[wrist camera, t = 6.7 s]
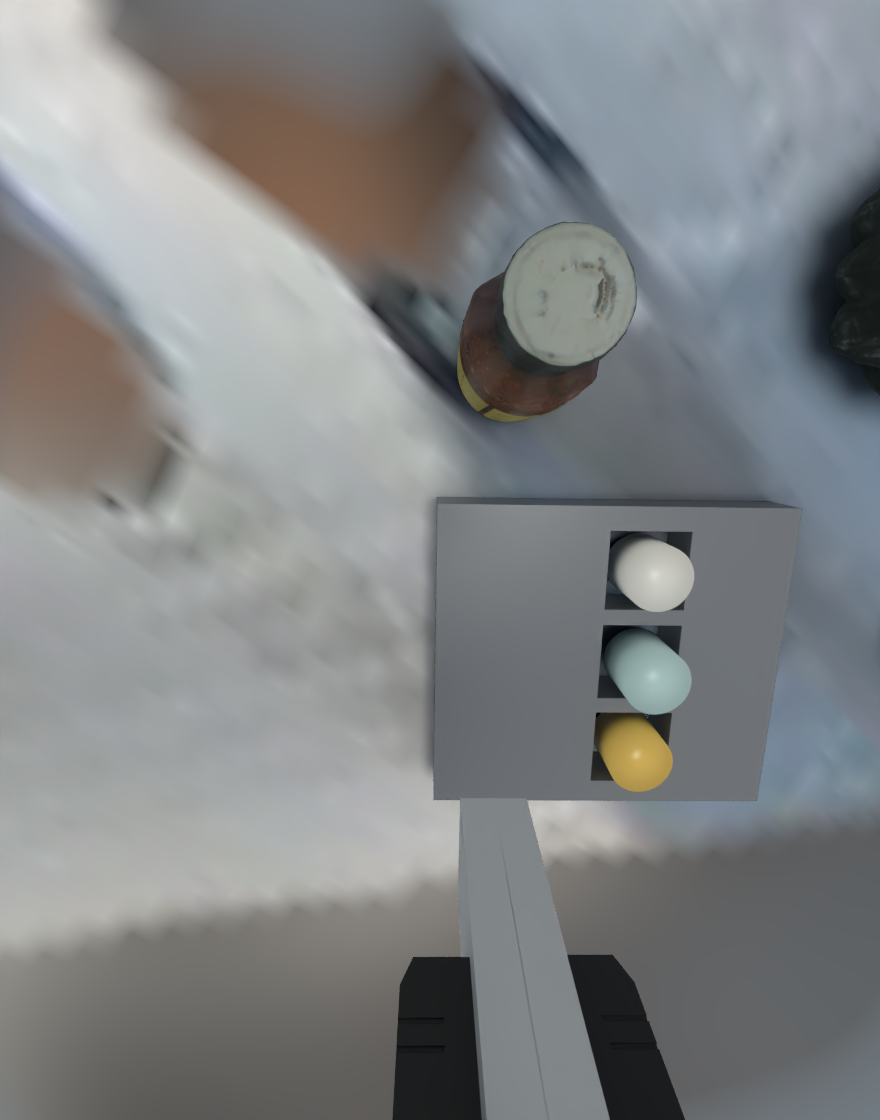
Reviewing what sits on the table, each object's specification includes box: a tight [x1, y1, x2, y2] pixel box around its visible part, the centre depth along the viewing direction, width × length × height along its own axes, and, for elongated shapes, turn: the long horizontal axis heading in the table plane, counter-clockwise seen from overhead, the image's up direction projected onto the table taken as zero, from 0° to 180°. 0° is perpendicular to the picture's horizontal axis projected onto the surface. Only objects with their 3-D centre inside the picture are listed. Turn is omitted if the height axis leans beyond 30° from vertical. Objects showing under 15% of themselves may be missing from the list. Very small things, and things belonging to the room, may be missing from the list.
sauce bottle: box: [457, 222, 637, 422], centre depth 26 cm, size 7×6×20 cm
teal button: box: [604, 628, 692, 715], centre depth 36 cm, size 4×4×4 cm
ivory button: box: [607, 533, 694, 612], centre depth 36 cm, size 4×4×4 cm
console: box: [433, 497, 802, 801], centre depth 39 cm, size 22×20×4 cm
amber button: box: [594, 712, 673, 792], centre depth 38 cm, size 4×4×4 cm
